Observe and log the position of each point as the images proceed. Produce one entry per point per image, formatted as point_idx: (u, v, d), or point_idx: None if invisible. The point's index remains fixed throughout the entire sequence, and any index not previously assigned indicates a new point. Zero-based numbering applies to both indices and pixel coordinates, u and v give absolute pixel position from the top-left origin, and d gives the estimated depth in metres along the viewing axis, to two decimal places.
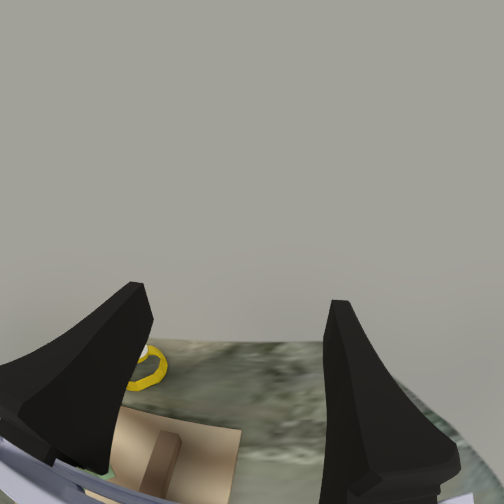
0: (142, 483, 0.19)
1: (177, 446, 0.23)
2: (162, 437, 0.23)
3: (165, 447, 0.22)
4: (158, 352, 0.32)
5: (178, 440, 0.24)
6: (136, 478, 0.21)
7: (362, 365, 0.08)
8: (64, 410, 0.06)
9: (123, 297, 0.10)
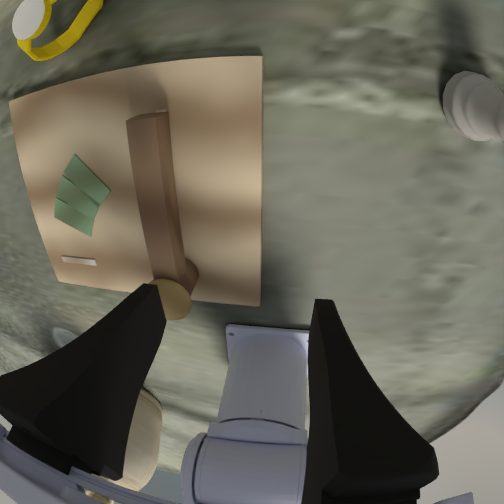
0: (141, 216, 0.18)
1: (162, 132, 0.16)
2: (134, 133, 0.15)
3: (145, 149, 0.15)
4: None
5: (160, 123, 0.15)
6: None
7: (341, 364, 0.08)
8: (81, 417, 0.06)
9: (138, 299, 0.10)
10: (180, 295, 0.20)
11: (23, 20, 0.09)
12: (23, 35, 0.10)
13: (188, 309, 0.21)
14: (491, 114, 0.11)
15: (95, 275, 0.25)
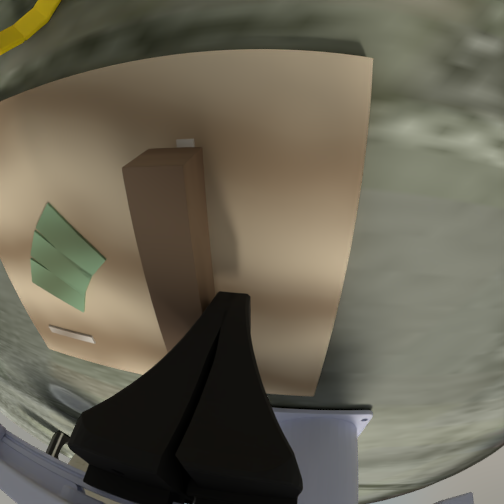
0: (160, 322, 0.11)
1: (194, 190, 0.09)
2: (140, 193, 0.08)
3: (163, 224, 0.09)
4: None
5: (190, 174, 0.08)
6: None
7: (229, 357, 0.08)
8: None
9: (222, 309, 0.10)
10: None
11: None
12: None
13: None
14: None
15: (94, 352, 0.19)
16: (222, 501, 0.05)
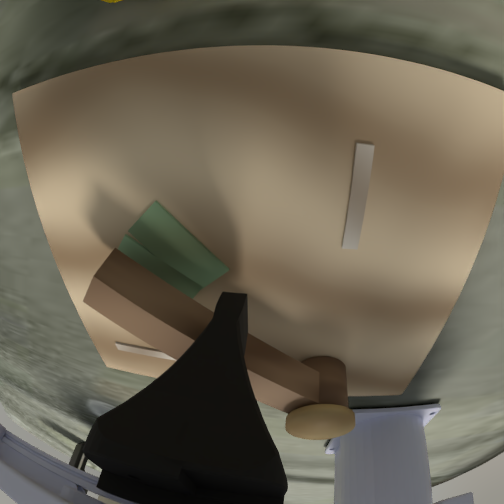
0: None
1: (125, 278, 0.11)
2: (100, 306, 0.11)
3: (125, 313, 0.11)
4: None
5: (109, 273, 0.10)
6: (280, 261, 0.12)
7: (218, 355, 0.08)
8: None
9: (235, 311, 0.10)
10: (328, 415, 0.12)
11: None
12: None
13: (351, 419, 0.12)
14: None
15: None
16: (208, 498, 0.05)
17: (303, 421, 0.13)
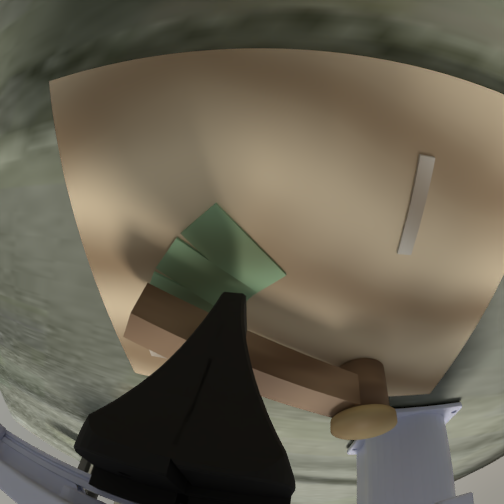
0: None
1: (161, 310, 0.12)
2: (141, 339, 0.12)
3: (166, 343, 0.12)
4: None
5: (145, 308, 0.11)
6: (338, 265, 0.12)
7: (223, 356, 0.08)
8: None
9: (227, 310, 0.10)
10: (370, 415, 0.12)
11: None
12: None
13: (392, 416, 0.12)
14: None
15: None
16: (216, 500, 0.05)
17: (347, 423, 0.13)
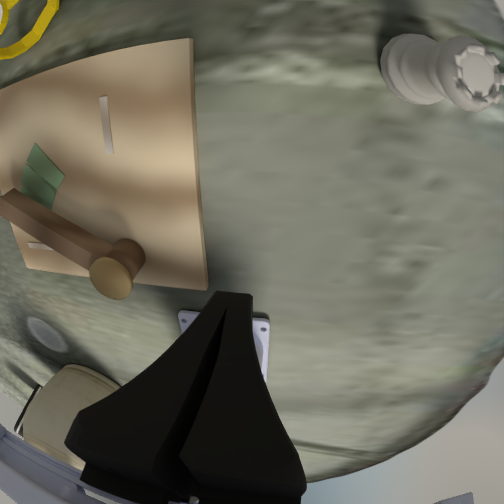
0: (47, 244, 0.20)
1: (13, 197, 0.19)
2: (5, 214, 0.19)
3: (12, 213, 0.19)
4: None
5: (7, 196, 0.19)
6: (83, 167, 0.19)
7: (232, 357, 0.08)
8: (182, 446, 0.06)
9: (219, 309, 0.10)
10: (102, 264, 0.19)
11: None
12: None
13: (117, 268, 0.19)
14: (423, 65, 0.10)
15: (57, 260, 0.25)
16: (225, 501, 0.05)
17: (95, 273, 0.20)
